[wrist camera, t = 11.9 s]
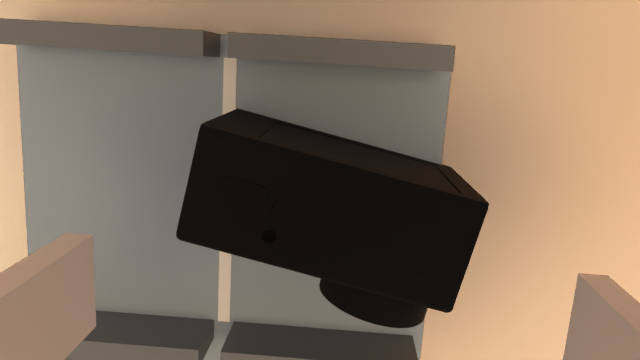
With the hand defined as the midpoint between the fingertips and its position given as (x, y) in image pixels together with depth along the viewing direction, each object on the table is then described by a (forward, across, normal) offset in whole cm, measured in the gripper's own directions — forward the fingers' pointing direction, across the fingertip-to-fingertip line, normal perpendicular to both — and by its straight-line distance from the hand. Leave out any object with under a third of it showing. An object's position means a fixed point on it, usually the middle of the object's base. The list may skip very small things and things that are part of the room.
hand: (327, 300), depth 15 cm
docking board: (+13, -5, -2) cm, 14 cm away
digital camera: (+12, 0, 0) cm, 12 cm away
